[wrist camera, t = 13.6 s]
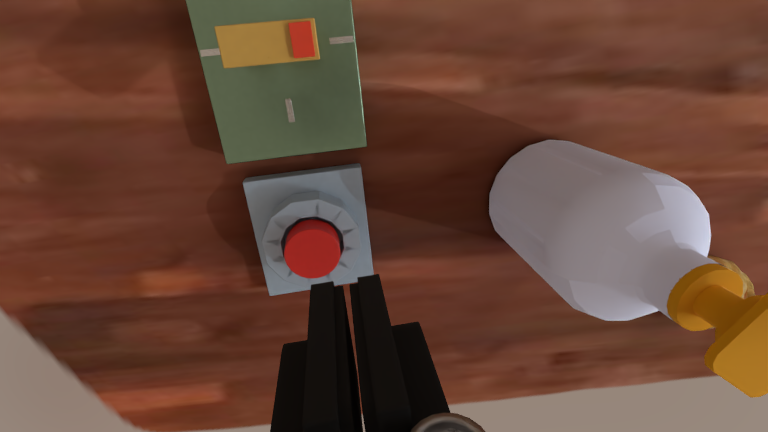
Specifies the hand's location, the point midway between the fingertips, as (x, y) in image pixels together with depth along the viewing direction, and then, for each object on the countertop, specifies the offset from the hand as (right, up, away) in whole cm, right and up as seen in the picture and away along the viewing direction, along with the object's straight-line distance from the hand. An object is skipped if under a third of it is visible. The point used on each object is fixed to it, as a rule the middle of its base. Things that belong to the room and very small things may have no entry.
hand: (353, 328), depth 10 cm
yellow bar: (-5, +13, +13) cm, 19 cm away
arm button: (-4, +1, +17) cm, 18 cm away
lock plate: (-6, +13, +15) cm, 21 cm away
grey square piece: (-5, +2, +20) cm, 20 cm away
